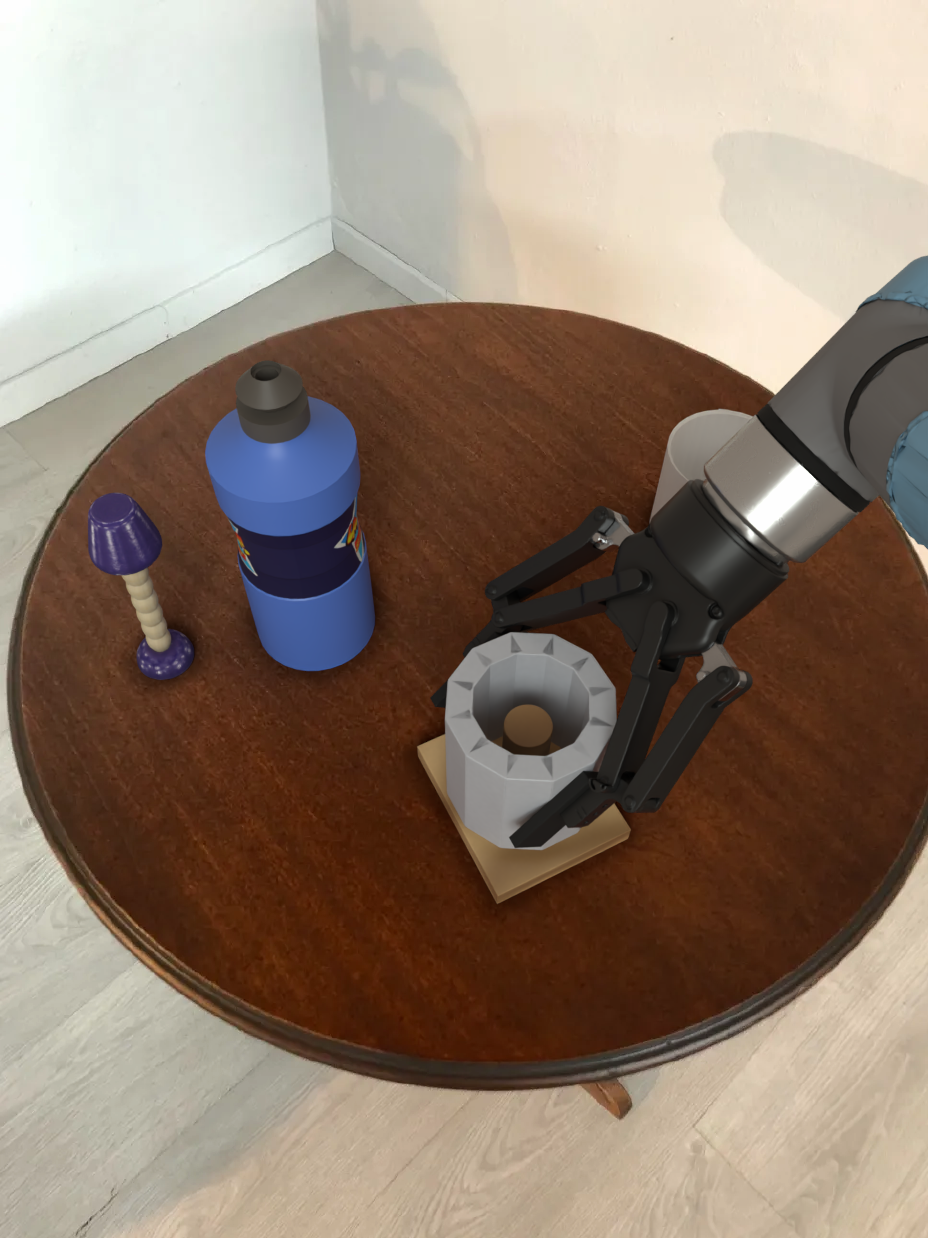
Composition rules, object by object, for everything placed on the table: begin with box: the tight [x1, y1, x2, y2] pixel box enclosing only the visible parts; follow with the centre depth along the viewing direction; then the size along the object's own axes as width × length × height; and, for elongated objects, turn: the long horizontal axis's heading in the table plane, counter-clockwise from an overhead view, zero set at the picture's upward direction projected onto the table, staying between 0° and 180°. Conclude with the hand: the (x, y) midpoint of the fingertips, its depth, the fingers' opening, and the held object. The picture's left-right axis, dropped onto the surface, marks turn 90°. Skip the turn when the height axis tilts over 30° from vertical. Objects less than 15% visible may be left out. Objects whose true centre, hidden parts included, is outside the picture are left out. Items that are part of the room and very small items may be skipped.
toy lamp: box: [87, 492, 195, 681], centre depth 70 cm, size 5×5×17 cm
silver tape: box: [444, 632, 618, 850], centre depth 64 cm, size 10×10×10 cm
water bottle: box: [204, 359, 376, 672], centre depth 68 cm, size 9×9×25 cm
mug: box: [649, 408, 754, 522], centre depth 81 cm, size 12×9×9 cm
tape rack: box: [416, 705, 632, 905], centre depth 66 cm, size 12×10×10 cm
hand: (483, 770), depth 64 cm, fingers closed on silver tape, 10 cm apart
